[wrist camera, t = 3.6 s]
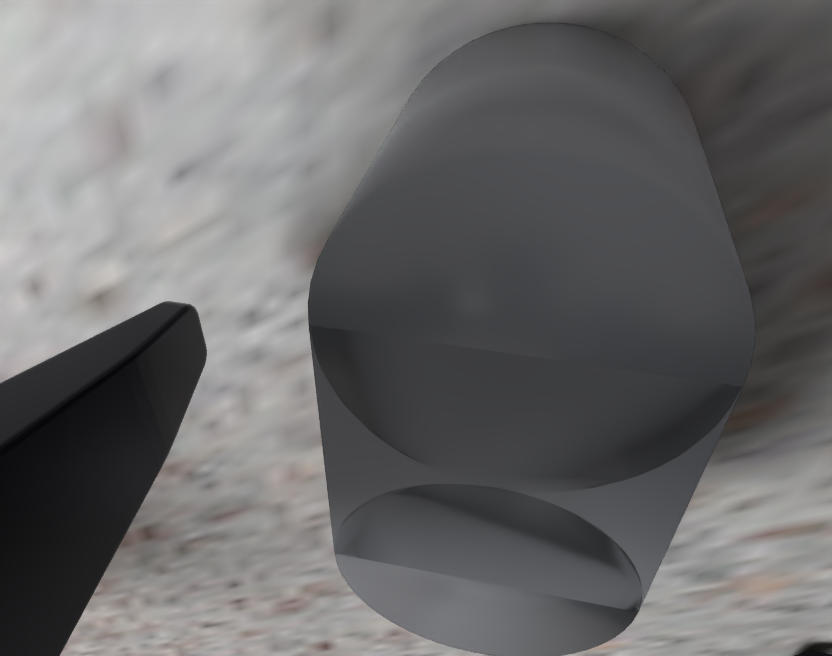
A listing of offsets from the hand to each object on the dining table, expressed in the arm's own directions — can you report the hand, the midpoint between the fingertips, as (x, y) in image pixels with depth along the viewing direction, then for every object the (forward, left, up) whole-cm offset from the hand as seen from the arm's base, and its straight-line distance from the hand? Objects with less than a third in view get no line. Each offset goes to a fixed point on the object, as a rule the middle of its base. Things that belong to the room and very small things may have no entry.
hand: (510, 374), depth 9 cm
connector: (0, +1, -2) cm, 2 cm away
